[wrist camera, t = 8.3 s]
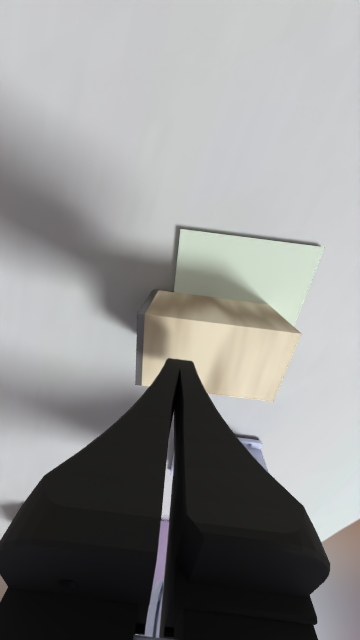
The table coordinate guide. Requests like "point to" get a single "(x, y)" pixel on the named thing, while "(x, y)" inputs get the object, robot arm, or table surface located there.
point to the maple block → (216, 342)
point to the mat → (246, 270)
